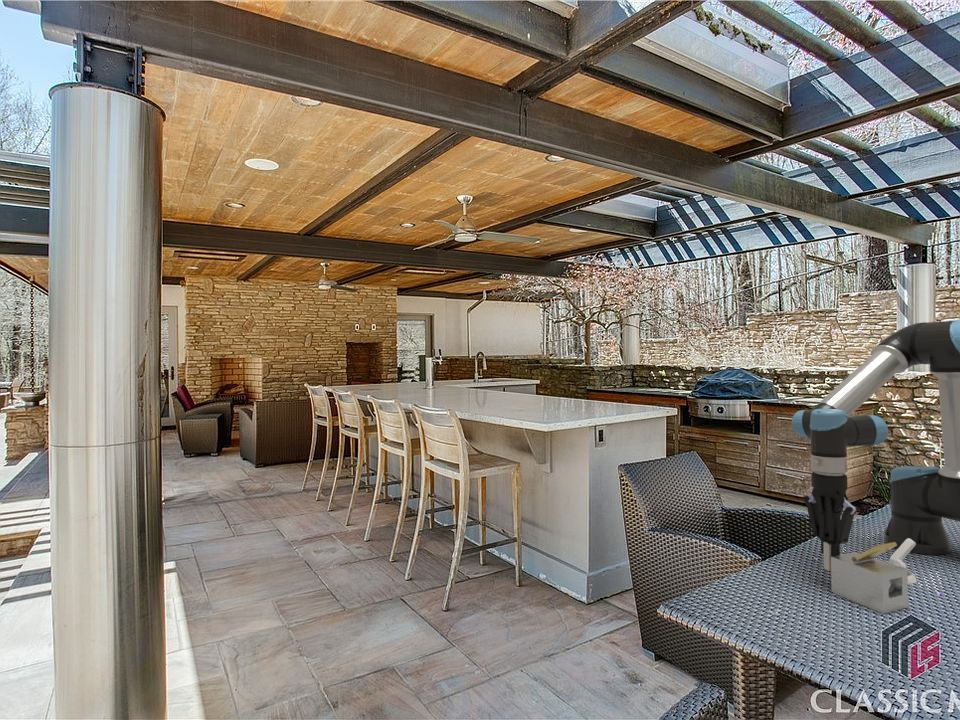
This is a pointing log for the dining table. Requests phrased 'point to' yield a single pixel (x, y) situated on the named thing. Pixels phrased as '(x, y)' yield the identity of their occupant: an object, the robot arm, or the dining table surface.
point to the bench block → (869, 582)
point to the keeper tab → (873, 552)
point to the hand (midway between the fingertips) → (830, 568)
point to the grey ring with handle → (900, 555)
